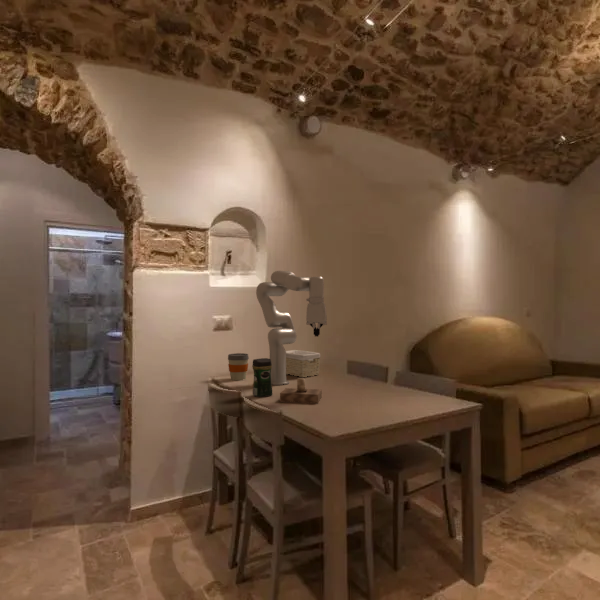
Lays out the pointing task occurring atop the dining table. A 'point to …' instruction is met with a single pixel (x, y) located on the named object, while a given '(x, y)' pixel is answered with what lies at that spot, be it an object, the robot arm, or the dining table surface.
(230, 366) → the reusable coffee cup
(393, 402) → the dining table surface
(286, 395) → the board
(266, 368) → the coffee jar
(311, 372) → the storage basket
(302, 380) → the peg
